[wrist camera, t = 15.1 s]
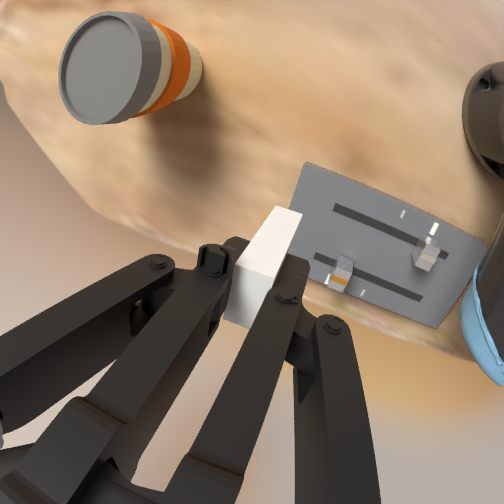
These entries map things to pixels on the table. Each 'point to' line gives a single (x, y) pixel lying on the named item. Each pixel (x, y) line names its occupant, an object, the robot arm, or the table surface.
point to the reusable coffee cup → (125, 68)
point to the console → (380, 245)
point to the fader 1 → (340, 273)
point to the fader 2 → (425, 252)
